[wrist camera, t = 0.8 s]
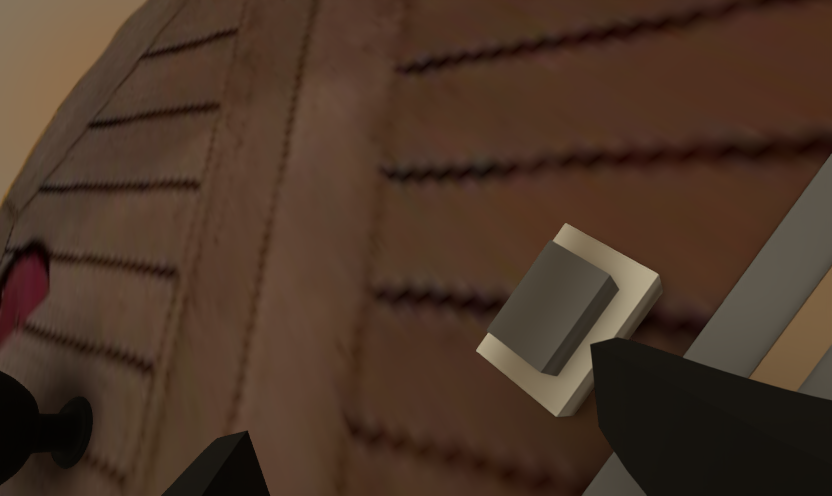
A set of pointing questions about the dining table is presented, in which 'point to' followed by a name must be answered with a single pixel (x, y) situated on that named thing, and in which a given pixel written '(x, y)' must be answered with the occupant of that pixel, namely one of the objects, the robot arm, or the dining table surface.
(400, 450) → the dining table surface
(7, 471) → the urn
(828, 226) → the wall board
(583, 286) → the cabinet block
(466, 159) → the dining table surface
